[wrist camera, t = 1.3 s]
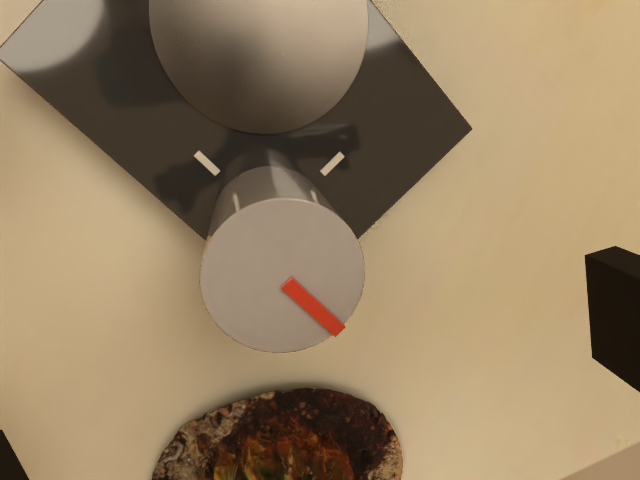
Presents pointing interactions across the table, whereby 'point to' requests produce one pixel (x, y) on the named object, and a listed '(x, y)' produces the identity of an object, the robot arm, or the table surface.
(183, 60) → the burner
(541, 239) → the table surface
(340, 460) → the cactus
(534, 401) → the table surface
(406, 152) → the hob
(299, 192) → the knob
